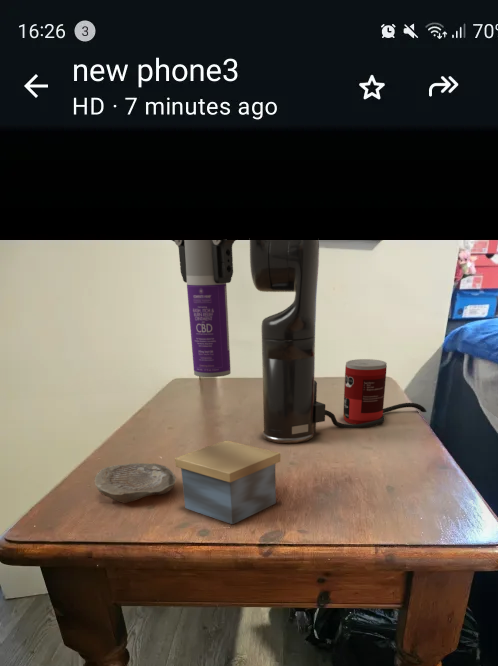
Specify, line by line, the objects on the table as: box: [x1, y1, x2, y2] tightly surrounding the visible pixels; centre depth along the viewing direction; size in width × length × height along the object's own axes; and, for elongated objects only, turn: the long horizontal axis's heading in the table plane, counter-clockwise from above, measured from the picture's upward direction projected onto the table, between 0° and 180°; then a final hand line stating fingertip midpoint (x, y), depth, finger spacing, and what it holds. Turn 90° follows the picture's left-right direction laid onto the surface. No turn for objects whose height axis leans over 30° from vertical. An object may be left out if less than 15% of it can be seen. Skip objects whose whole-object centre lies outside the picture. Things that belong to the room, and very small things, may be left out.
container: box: [184, 240, 232, 378], centre depth 70 cm, size 5×5×15 cm
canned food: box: [342, 358, 388, 425], centre depth 115 cm, size 8×8×11 cm
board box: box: [174, 439, 281, 525], centre depth 79 cm, size 10×10×7 cm
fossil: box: [94, 462, 177, 504], centre depth 85 cm, size 10×12×3 cm
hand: (206, 281), depth 69 cm, fingers closed on container, 4 cm apart
